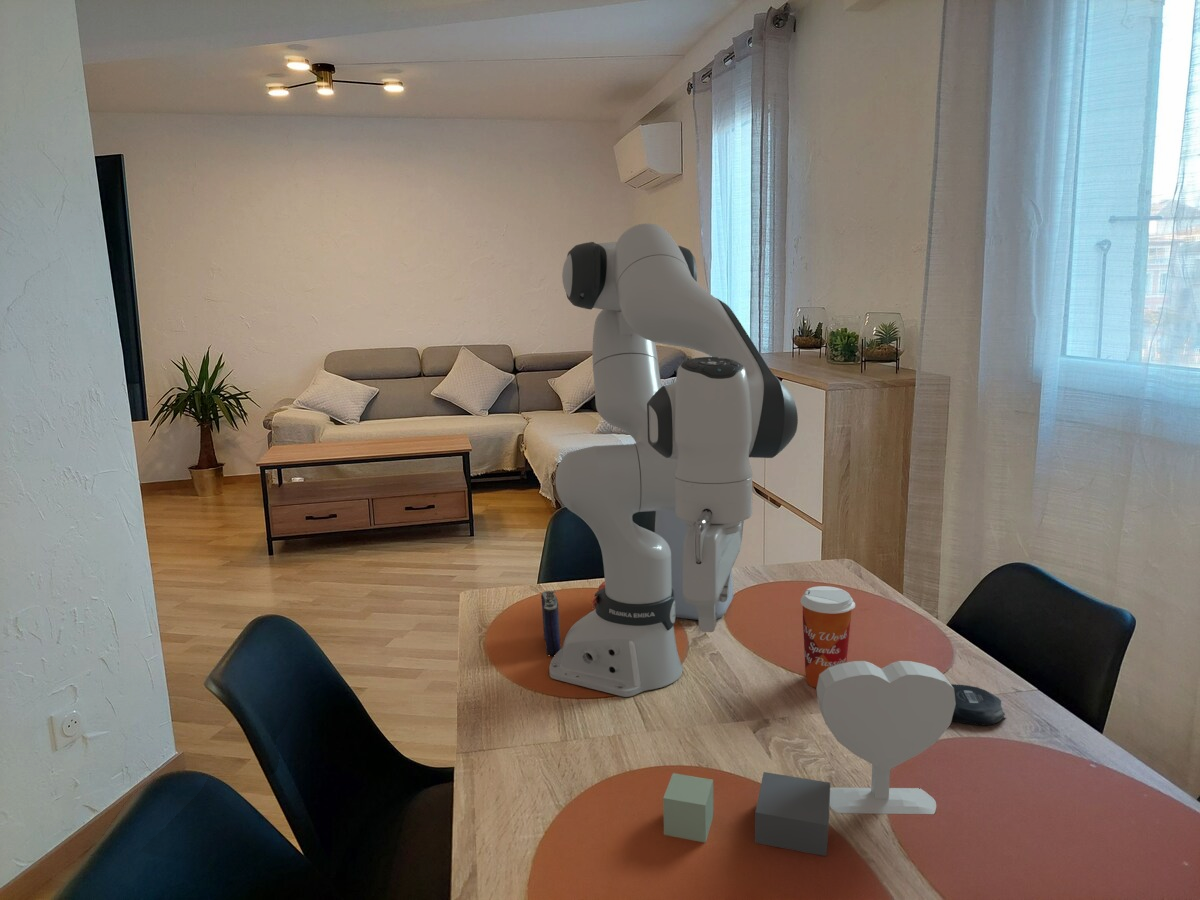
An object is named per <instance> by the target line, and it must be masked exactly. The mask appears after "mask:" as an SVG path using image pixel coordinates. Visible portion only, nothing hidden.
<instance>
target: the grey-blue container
mask: <svg viewBox="0 0 1200 900" xmlns="http://www.w3.org/2000/svg"><path fill="white" fill-rule="evenodd" d="M654 518H655V519H654V533H656V534H658V535H659V536H661V537H662V538H663V539H664V540H665V541H666V542H667V543H668V545H669V547H670V550H671V573H672V589H673V590H674V598H675V618H679V619H685V620H696V621H699V617H698V613H697V610H696V606H695V604H688V603H686V602H685V600H684V597H683V551H684V541H685V537H686V534H687V533H688V530H687V528H686V521H685V520H682V519H680V518H678V517H677V516H676V514H675V510H662V511H655V517H654ZM733 598H734V583H733V569H732V570H731V574H730V581H729V596H728V598H727V600H726V601H725V602H720V601H719V602H717V603H716V604H715V613H716V617H717V618H716V620H718V619H720V618H722V617H723V616H724V615H725V614H726V612H727V611H728V608H729V606H730V605H731V603H732V602H733Z"/></svg>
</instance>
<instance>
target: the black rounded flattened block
mask: <svg viewBox="0 0 1200 900" xmlns="http://www.w3.org/2000/svg"><path fill="white" fill-rule="evenodd" d="M950 684H951V685H952V687H953V688H954V693H955V702H956V705H955V709H954V713H953V717H952V721H955V722H958V723H962V724H966V725H977V726H979V727H981V726H989V725H995V724H997V723H999V722H1000V721H1001V720H1002V719H1003V718H1004V717H1005V716H1006V714H1005V712H1004V710H1003V707H1002V699H1000V698H999V697H998V696H996V695H995V694H993V693H991V692H989V691H988V690H986V689H984V688H980V687H978V686H972V685H967V684H966V685H965V684H957V683H955V684H953V683H950Z"/></svg>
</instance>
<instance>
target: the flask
mask: <svg viewBox="0 0 1200 900" xmlns="http://www.w3.org/2000/svg"><path fill="white" fill-rule="evenodd" d="M556 592H557V590H556V589H554V590H547V589H546V590H544V591H543V592H541V595H540V596H541V597H540V599H541V611H542V612H541V613H542V626H543V627H542V628H543V630H542V631H543V641H544V642H545V641H546V646H545V647H546V648H545V649H546V650H545V651H546V656H547V655H550V656H554V655H555V654H556V653H557V652H558V651H559V650H560V649H561V648H562V645H561V646H560V644H561V633H560V630H561V629H560V616H559V615H560V614H559V613H560V612H559V601H558V600H559V599H558V597H557V596H556V594H555V593H556Z"/></svg>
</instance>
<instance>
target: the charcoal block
mask: <svg viewBox="0 0 1200 900" xmlns="http://www.w3.org/2000/svg"><path fill="white" fill-rule="evenodd" d="M761 777H762V778H761V781H760V782H761V783H760V787H759V788H760V789H759V792H758V797H757V802H756V806H755V807H756V808H755V811H754V814H755V815H754V822H755V823H754V843H755V844H760V845H764V846H771V847H776V848H781V849H787V850H791V851H798V852H802V853H808V854H813V855H817V856H824V857H827V854H828V853H827V852H828V839H829V837H828V836H829V823H830V822H829V821H830V809H831V807H830V788H831V782H830V781H829V782H828V781H823V780H817V779H816V780H815V779H811V778H810V779H809V778H803V777H797V776H792V775H791V776H790V775H785V774H778V773H772V772H766V771H763V774H762V776H761Z"/></svg>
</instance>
